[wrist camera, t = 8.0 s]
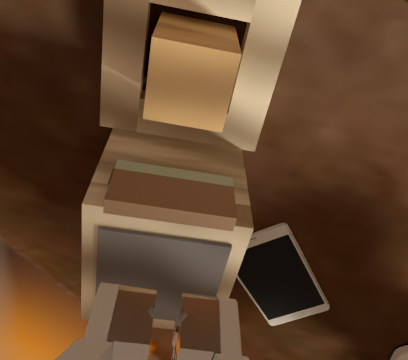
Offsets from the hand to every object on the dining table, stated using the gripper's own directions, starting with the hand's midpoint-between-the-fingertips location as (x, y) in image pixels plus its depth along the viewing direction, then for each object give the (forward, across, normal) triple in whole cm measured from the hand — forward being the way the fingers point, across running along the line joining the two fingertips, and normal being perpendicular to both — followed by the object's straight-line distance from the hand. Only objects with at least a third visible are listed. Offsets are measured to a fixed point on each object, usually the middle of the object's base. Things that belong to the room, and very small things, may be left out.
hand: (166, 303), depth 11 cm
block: (+21, 0, 0) cm, 21 cm away
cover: (+14, 0, +12) cm, 18 cm away
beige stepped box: (+21, 0, +4) cm, 21 cm away
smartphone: (+21, -13, +22) cm, 33 cm away
